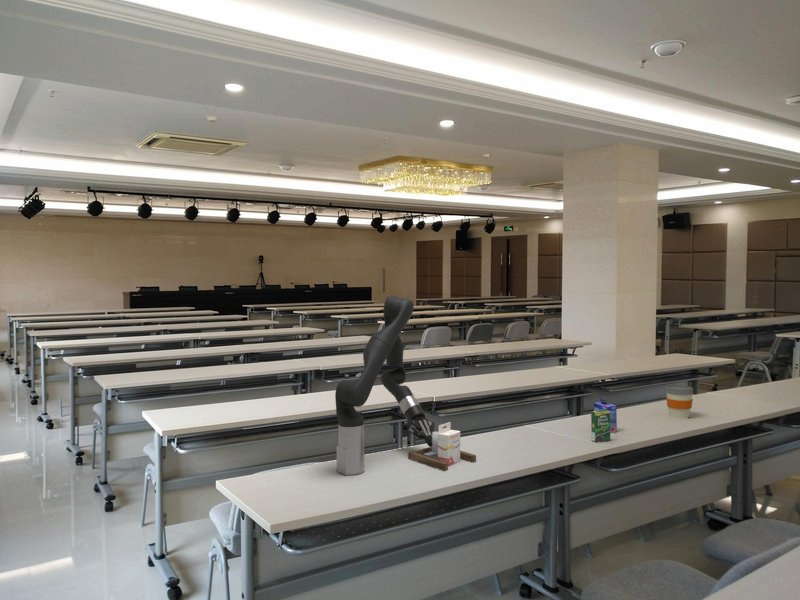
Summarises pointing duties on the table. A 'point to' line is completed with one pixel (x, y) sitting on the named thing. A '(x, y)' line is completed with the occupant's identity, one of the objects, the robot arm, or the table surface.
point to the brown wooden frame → (436, 463)
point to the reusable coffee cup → (679, 400)
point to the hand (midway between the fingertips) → (432, 445)
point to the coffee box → (600, 425)
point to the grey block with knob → (433, 446)
